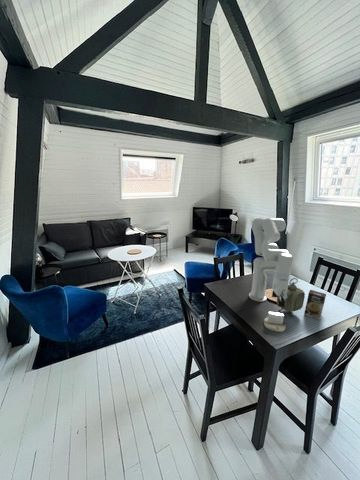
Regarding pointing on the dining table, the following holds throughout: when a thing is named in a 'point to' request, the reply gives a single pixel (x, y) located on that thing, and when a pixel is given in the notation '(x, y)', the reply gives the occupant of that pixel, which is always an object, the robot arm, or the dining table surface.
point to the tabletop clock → (293, 298)
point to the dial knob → (275, 318)
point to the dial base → (274, 326)
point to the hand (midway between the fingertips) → (277, 301)
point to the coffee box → (315, 304)
